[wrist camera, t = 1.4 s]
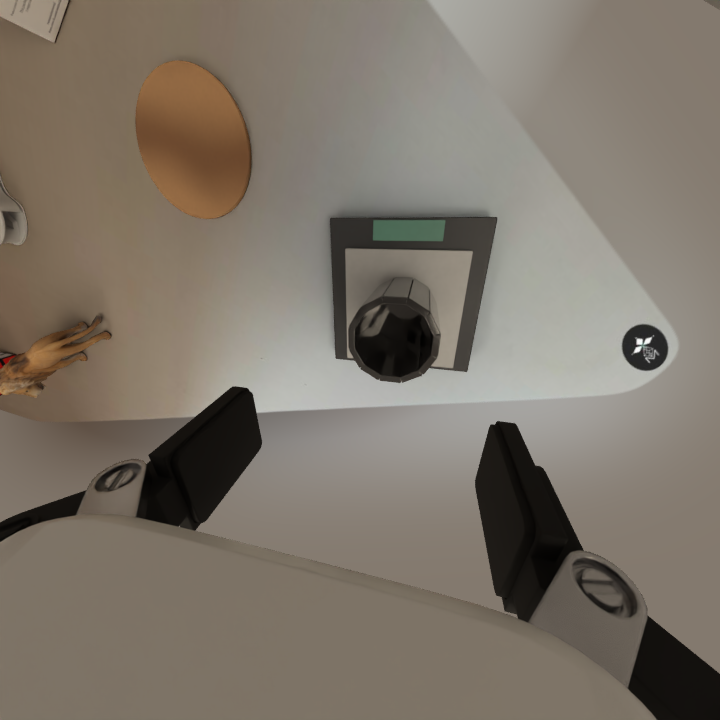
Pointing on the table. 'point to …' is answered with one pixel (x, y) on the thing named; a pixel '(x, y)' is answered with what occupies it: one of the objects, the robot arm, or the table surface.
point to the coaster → (193, 139)
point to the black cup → (396, 331)
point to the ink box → (35, 15)
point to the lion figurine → (46, 359)
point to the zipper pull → (11, 219)
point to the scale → (414, 272)
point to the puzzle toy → (5, 359)
